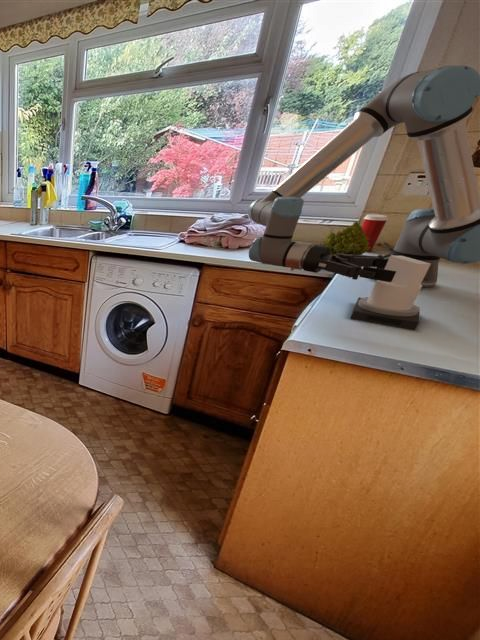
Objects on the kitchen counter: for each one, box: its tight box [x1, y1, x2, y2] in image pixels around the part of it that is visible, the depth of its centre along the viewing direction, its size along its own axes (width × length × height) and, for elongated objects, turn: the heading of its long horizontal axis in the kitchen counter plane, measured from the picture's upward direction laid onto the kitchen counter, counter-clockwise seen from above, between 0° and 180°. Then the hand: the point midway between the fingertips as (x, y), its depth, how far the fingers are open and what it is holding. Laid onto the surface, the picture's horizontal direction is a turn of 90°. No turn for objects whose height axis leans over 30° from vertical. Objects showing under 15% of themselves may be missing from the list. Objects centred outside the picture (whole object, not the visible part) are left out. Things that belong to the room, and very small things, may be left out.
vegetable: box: [319, 221, 371, 255], centre depth 172 cm, size 15×16×15 cm
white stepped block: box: [367, 256, 431, 310], centre depth 113 cm, size 9×9×12 cm
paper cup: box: [361, 213, 389, 253], centre depth 181 cm, size 8×8×14 cm
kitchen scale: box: [349, 296, 421, 331], centre depth 117 cm, size 15×13×3 cm
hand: (401, 272), depth 112 cm, fingers open, 13 cm apart
